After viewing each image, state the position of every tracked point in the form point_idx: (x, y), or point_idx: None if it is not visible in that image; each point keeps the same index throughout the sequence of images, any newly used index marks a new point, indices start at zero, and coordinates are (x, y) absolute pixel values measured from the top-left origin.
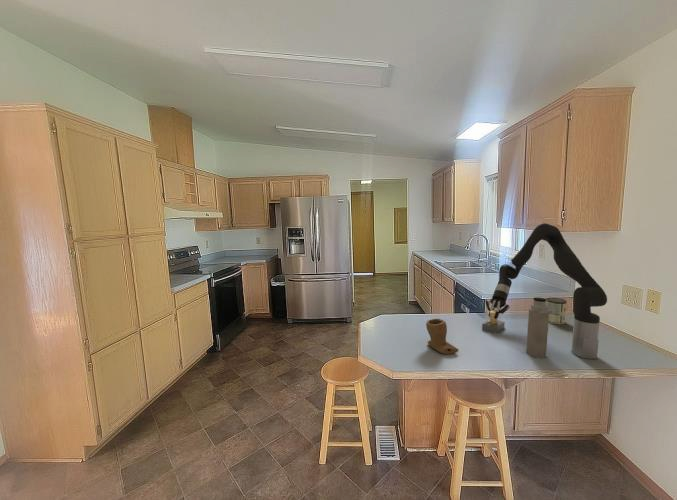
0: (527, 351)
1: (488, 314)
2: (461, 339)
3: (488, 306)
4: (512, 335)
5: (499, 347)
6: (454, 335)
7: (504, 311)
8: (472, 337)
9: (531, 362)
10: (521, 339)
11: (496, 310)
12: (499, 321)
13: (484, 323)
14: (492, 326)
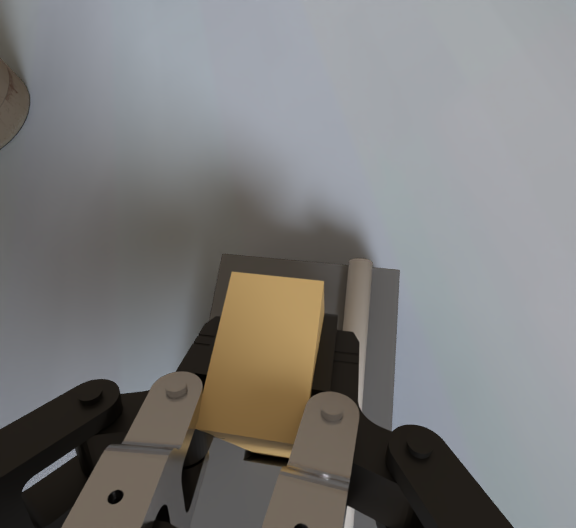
0: (14, 75)
1: (359, 343)
2: (450, 19)
3: (431, 495)
4: (113, 370)
5: (187, 66)
6: (534, 47)
7: (41, 486)
8: (399, 101)
9: (17, 6)
10: (42, 318)
11: (206, 421)
12: (230, 525)
13: (379, 293)
14: (273, 260)
